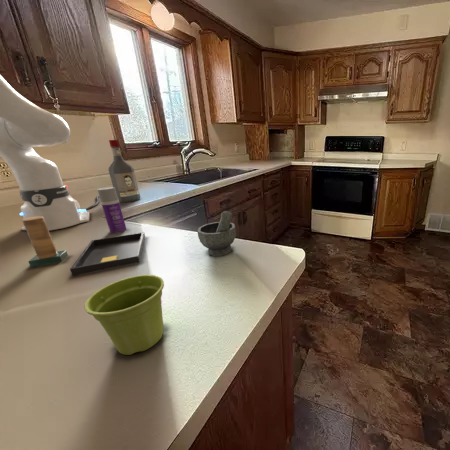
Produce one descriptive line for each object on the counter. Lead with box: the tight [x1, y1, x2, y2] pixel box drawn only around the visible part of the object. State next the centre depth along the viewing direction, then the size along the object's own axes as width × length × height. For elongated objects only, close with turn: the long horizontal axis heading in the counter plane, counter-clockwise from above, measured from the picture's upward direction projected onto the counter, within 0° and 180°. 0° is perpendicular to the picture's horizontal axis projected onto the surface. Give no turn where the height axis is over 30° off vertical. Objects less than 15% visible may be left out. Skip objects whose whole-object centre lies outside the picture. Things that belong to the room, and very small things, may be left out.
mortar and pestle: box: [197, 210, 237, 257], centre depth 65 cm, size 11×9×12 cm
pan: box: [69, 231, 146, 276], centre depth 66 cm, size 19×13×2 cm
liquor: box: [108, 139, 141, 203], centre depth 124 cm, size 9×9×30 cm
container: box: [97, 186, 127, 234], centre depth 81 cm, size 5×5×15 cm
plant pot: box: [83, 274, 165, 356], centre depth 36 cm, size 9×9×9 cm
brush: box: [21, 216, 69, 268], centre depth 61 cm, size 4×6×12 cm, turn 115°
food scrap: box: [101, 255, 118, 262], centre depth 61 cm, size 3×3×1 cm
